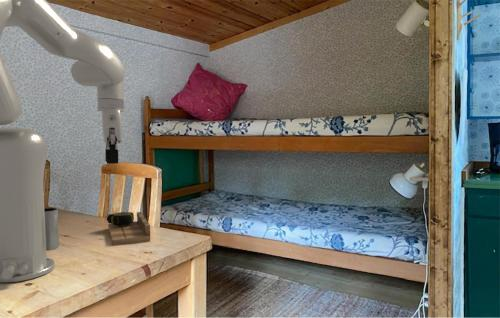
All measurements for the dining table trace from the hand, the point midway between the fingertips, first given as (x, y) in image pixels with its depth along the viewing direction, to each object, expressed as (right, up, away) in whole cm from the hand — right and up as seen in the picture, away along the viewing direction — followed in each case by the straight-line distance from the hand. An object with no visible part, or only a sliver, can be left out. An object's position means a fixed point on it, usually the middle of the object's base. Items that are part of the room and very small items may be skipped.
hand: (111, 162), depth 114 cm
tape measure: (+2, -20, +3) cm, 20 cm away
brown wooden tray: (+6, -22, -2) cm, 22 cm away
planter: (-11, -23, -14) cm, 29 cm away
